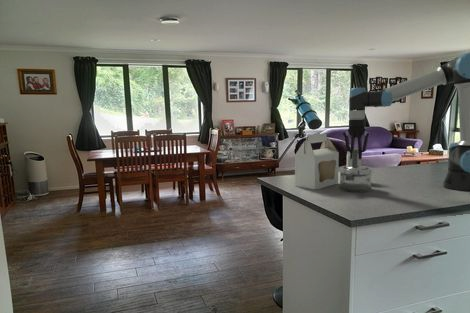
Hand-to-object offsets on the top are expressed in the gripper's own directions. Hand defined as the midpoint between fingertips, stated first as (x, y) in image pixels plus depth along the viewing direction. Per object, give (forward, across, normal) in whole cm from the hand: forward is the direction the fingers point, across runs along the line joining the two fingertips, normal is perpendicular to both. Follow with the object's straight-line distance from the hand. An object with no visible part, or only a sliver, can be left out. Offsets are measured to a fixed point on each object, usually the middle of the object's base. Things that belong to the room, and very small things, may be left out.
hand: (355, 165), depth 175 cm
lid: (+2, 0, 0) cm, 2 cm away
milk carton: (+13, +6, -19) cm, 24 cm away
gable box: (+13, +21, -1) cm, 24 cm away
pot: (+12, 0, +3) cm, 13 cm away
